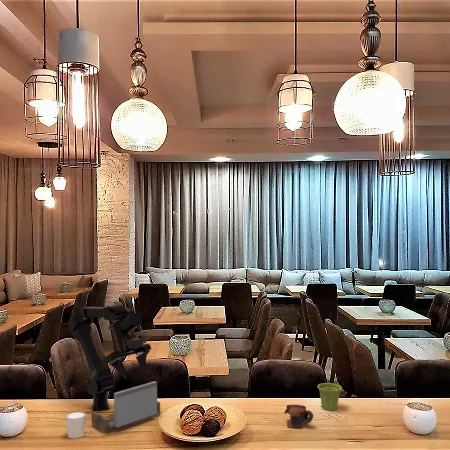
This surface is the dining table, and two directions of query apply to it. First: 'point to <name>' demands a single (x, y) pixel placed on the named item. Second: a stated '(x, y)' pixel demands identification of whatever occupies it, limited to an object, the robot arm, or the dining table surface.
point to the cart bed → (107, 422)
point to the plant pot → (329, 395)
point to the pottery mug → (298, 416)
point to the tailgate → (135, 404)
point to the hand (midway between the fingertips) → (135, 375)
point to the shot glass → (75, 424)
